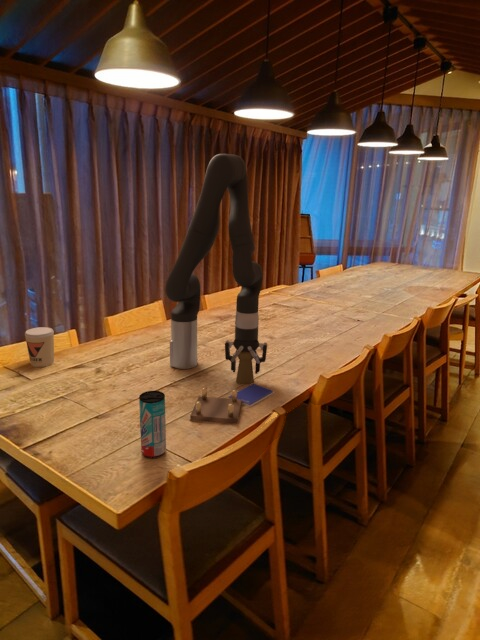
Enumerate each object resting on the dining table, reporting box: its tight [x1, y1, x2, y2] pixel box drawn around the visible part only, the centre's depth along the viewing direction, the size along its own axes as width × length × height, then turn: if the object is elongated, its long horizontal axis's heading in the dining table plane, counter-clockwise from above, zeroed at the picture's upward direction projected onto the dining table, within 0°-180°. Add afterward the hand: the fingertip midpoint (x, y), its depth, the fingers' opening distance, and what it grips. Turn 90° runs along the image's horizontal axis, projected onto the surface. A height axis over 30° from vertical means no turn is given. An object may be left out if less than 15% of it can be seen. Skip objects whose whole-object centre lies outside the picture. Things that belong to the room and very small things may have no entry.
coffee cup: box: [24, 326, 55, 368], centre depth 159 cm, size 9×9×12 cm
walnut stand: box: [189, 386, 243, 425], centre depth 129 cm, size 13×12×5 cm
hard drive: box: [227, 383, 274, 408], centre depth 140 cm, size 2×8×12 cm
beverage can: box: [138, 390, 167, 459], centre depth 107 cm, size 6×6×15 cm
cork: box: [235, 352, 255, 386], centre depth 149 cm, size 6×6×11 cm
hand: (245, 372), depth 150 cm, fingers open, 7 cm apart
